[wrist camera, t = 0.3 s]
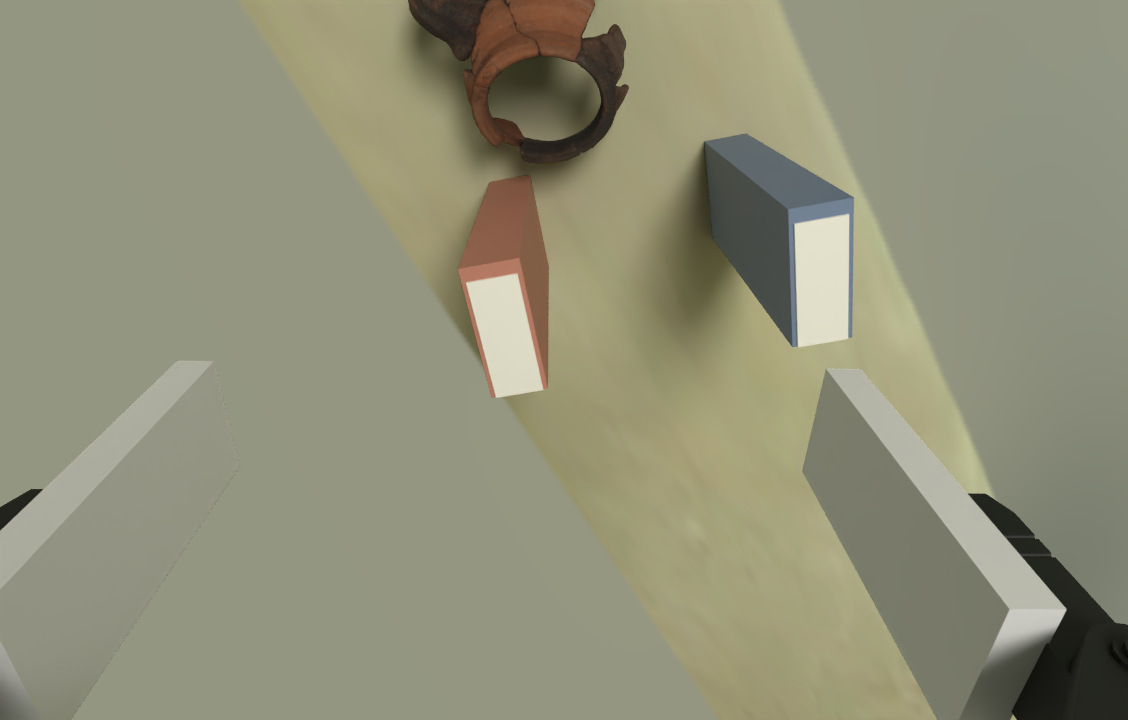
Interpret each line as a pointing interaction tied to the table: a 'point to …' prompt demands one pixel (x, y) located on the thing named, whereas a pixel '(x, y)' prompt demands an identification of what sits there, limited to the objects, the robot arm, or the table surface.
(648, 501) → the table surface
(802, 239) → the navy book
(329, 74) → the table surface
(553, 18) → the pottery mug
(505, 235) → the brick red book
